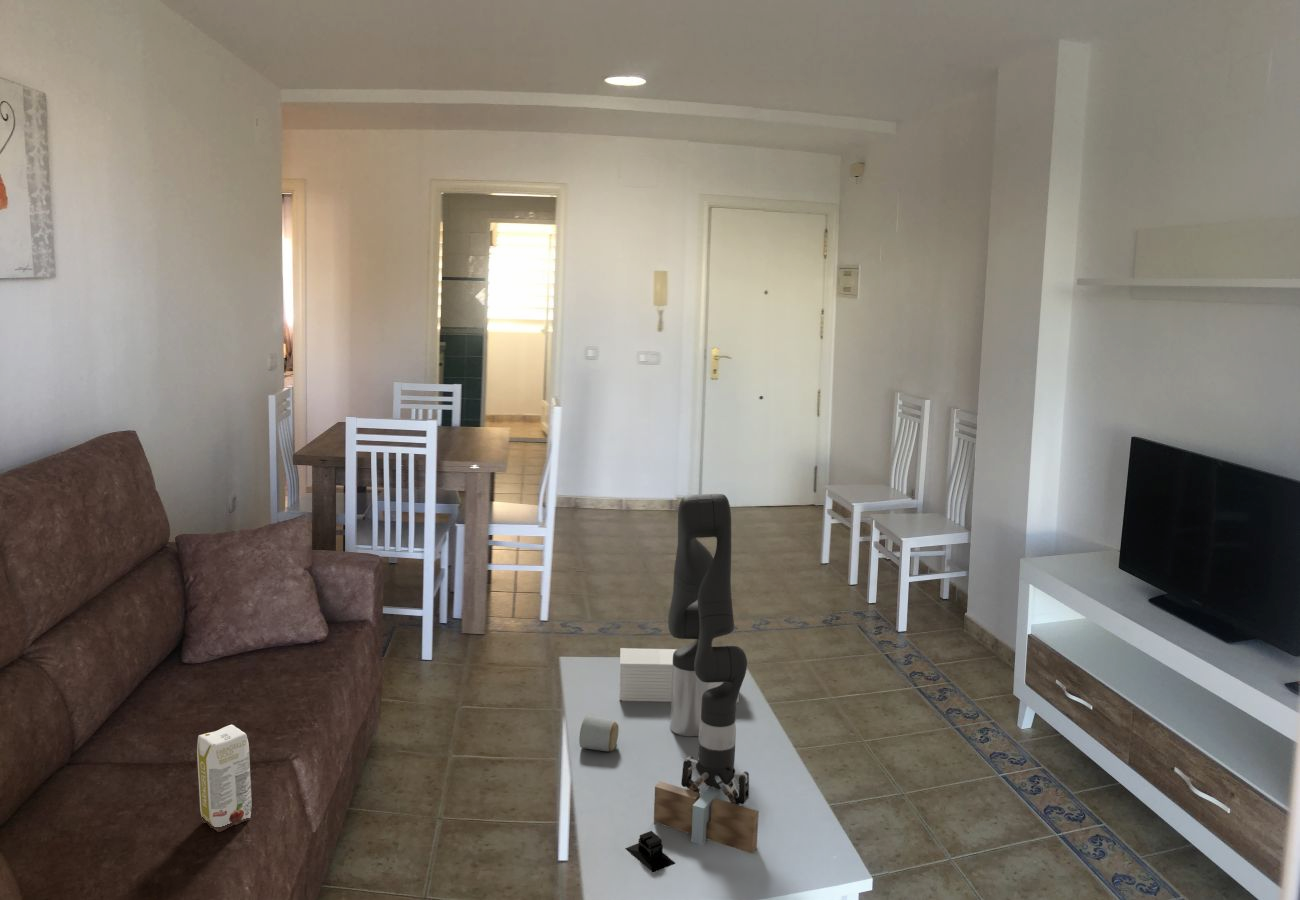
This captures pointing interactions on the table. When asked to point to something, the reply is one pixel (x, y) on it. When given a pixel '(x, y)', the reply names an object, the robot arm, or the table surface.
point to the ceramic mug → (598, 733)
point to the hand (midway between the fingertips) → (713, 812)
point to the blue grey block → (704, 812)
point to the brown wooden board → (723, 827)
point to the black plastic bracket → (650, 852)
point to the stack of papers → (648, 675)
